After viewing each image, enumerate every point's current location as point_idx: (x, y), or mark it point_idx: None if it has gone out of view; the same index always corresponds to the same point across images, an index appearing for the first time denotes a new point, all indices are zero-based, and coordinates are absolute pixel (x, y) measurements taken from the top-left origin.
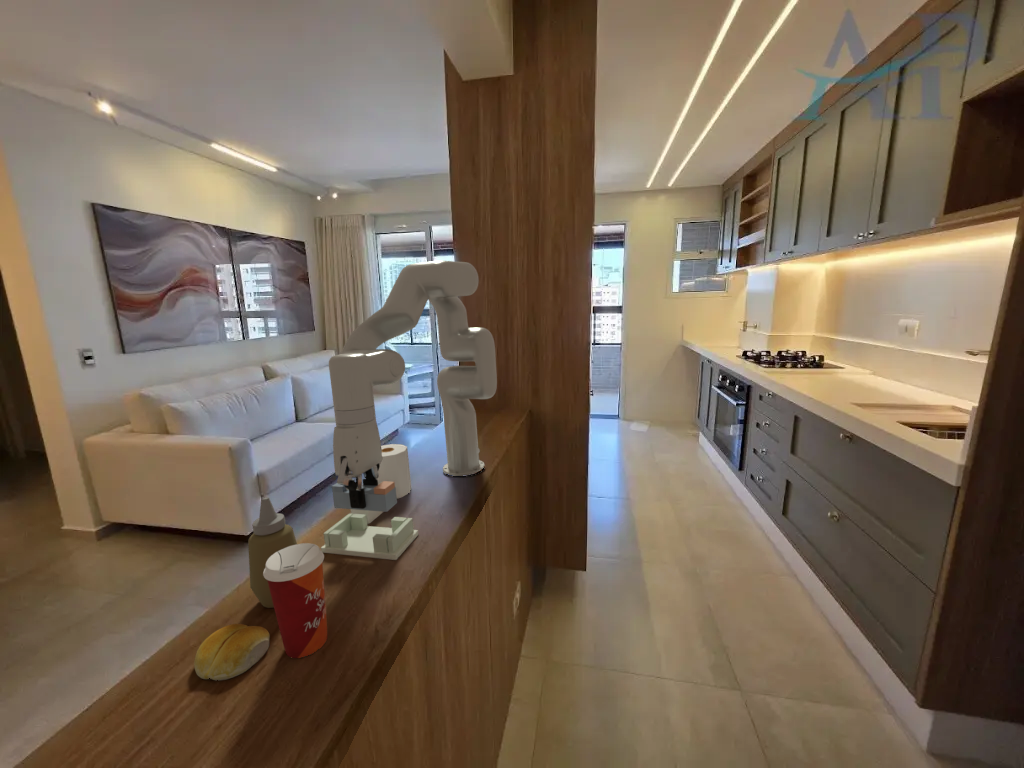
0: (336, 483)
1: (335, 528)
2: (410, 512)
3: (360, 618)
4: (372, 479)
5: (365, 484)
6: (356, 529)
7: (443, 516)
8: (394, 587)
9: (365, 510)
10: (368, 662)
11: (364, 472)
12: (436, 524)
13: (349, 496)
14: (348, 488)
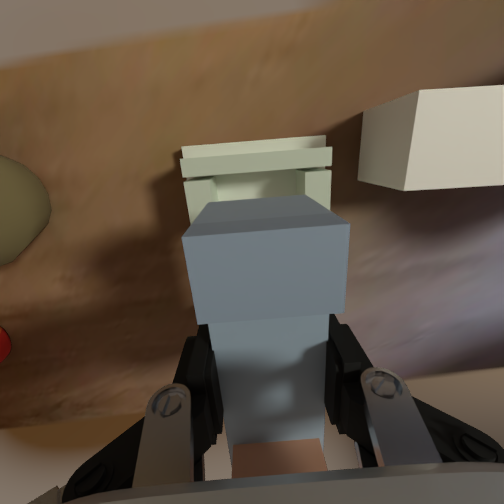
0: (241, 234)
1: (225, 173)
2: (429, 261)
3: (62, 374)
4: (341, 422)
5: (326, 358)
6: (296, 188)
7: (404, 347)
8: (145, 379)
9: (379, 176)
10: (15, 422)
11: (369, 430)
12: (365, 349)
13: (195, 340)
14: (137, 430)
